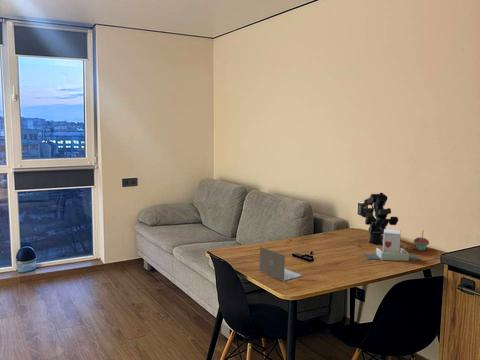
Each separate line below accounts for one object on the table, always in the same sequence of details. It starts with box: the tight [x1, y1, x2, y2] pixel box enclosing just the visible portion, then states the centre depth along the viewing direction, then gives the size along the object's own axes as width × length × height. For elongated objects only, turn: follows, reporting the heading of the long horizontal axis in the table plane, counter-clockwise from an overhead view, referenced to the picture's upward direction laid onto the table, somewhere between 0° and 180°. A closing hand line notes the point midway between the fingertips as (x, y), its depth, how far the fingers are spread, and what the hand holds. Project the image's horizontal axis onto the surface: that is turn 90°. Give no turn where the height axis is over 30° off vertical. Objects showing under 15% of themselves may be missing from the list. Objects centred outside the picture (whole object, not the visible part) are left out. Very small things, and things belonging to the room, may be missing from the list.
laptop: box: [258, 246, 303, 282], centre depth 215 cm, size 18×12×13 cm
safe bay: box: [363, 247, 422, 262], centre depth 245 cm, size 10×29×4 cm, turn 89°
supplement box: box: [382, 228, 402, 253], centre depth 245 cm, size 9×9×15 cm
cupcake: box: [413, 230, 430, 251], centre depth 263 cm, size 9×8×12 cm
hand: (384, 232), depth 260 cm, fingers closed
